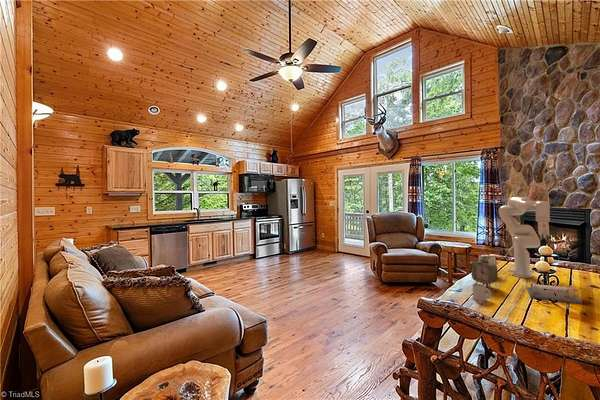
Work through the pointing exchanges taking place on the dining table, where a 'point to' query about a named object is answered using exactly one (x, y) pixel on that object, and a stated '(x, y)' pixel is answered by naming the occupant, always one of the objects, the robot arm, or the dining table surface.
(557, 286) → the hold down bar
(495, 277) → the tabletop clock
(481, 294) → the grey rounded lump
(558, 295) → the clamp plate
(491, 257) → the candy bar box
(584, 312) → the dining table surface
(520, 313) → the dining table surface
